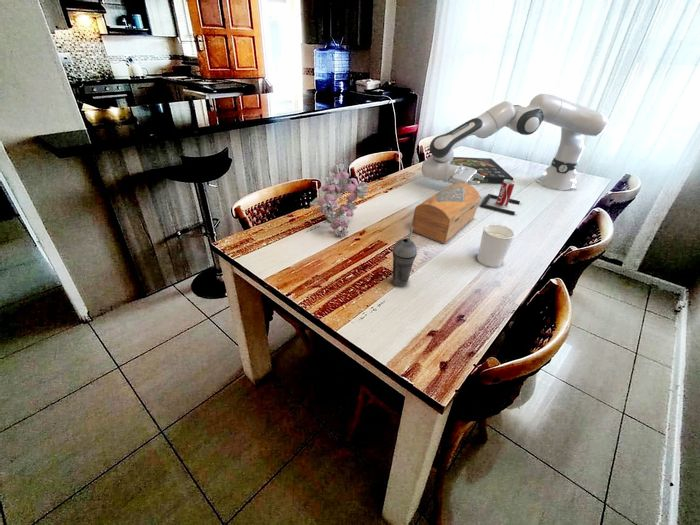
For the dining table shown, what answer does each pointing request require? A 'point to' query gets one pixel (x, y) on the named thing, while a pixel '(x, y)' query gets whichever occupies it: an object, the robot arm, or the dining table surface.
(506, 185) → the soda can
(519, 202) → the bay
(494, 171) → the pizza box
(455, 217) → the wooden box
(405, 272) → the beverage cup
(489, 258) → the candle holder
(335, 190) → the pink flower bunch
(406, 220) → the dining table surface
